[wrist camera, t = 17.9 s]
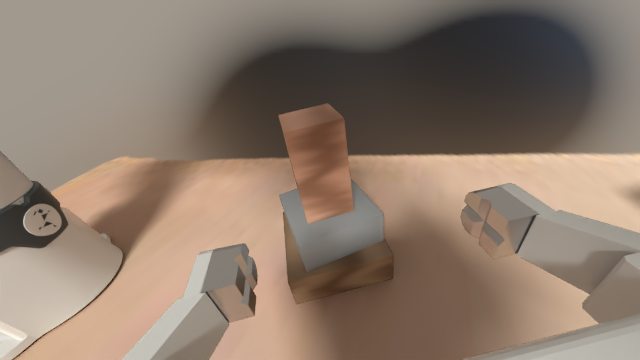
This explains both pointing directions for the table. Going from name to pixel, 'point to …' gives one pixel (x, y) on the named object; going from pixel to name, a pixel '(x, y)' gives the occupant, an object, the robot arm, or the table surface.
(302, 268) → the walnut base block
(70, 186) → the table surface
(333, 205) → the terracotta block
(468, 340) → the table surface
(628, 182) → the table surface
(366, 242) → the grey top block
